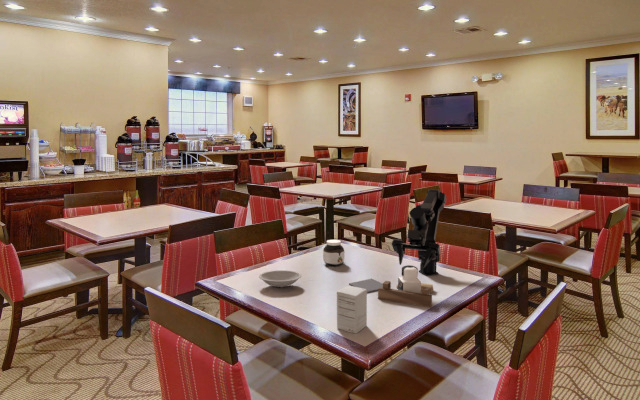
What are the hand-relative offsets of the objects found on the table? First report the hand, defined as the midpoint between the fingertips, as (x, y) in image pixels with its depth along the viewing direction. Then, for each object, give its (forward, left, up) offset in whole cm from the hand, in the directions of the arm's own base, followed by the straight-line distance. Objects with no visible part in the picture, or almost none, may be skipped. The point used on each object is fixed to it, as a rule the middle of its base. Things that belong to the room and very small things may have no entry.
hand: (411, 265), depth 168 cm
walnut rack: (+6, +5, -11) cm, 14 cm away
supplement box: (+35, +19, -12) cm, 41 cm away
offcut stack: (-5, -4, -11) cm, 13 cm away
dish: (+46, -27, -12) cm, 54 cm away
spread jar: (+12, -51, -12) cm, 54 cm away
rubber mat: (+11, -14, -11) cm, 21 cm away
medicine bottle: (+2, +2, -12) cm, 12 cm away
